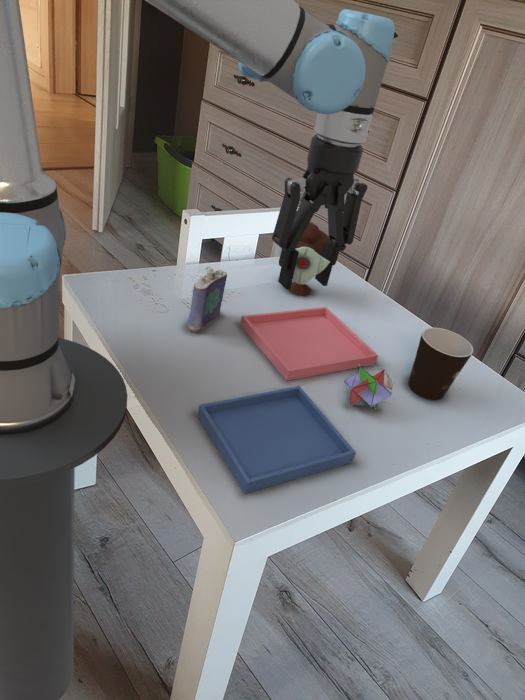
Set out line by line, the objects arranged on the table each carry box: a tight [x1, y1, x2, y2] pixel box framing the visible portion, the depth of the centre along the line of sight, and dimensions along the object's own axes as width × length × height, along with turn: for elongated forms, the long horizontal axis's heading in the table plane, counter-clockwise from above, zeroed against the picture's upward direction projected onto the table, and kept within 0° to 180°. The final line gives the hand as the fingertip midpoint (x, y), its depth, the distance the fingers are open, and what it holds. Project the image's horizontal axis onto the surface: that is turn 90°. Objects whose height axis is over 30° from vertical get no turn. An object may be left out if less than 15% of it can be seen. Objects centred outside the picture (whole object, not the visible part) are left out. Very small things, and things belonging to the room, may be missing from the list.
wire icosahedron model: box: [343, 365, 394, 410], centre depth 87 cm, size 7×7×8 cm
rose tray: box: [240, 306, 379, 381], centre depth 100 cm, size 19×17×2 cm
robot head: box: [292, 247, 330, 285], centre depth 88 cm, size 8×4×7 cm, turn 77°
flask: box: [187, 266, 228, 334], centre depth 97 cm, size 9×3×11 cm, turn 153°
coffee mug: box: [407, 327, 474, 401], centre depth 94 cm, size 12×9×10 cm
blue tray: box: [197, 385, 357, 494], centre depth 77 cm, size 17×15×2 cm
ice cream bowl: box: [286, 221, 330, 297], centre depth 114 cm, size 11×11×15 cm
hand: (302, 283), depth 90 cm, fingers closed on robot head, 6 cm apart
